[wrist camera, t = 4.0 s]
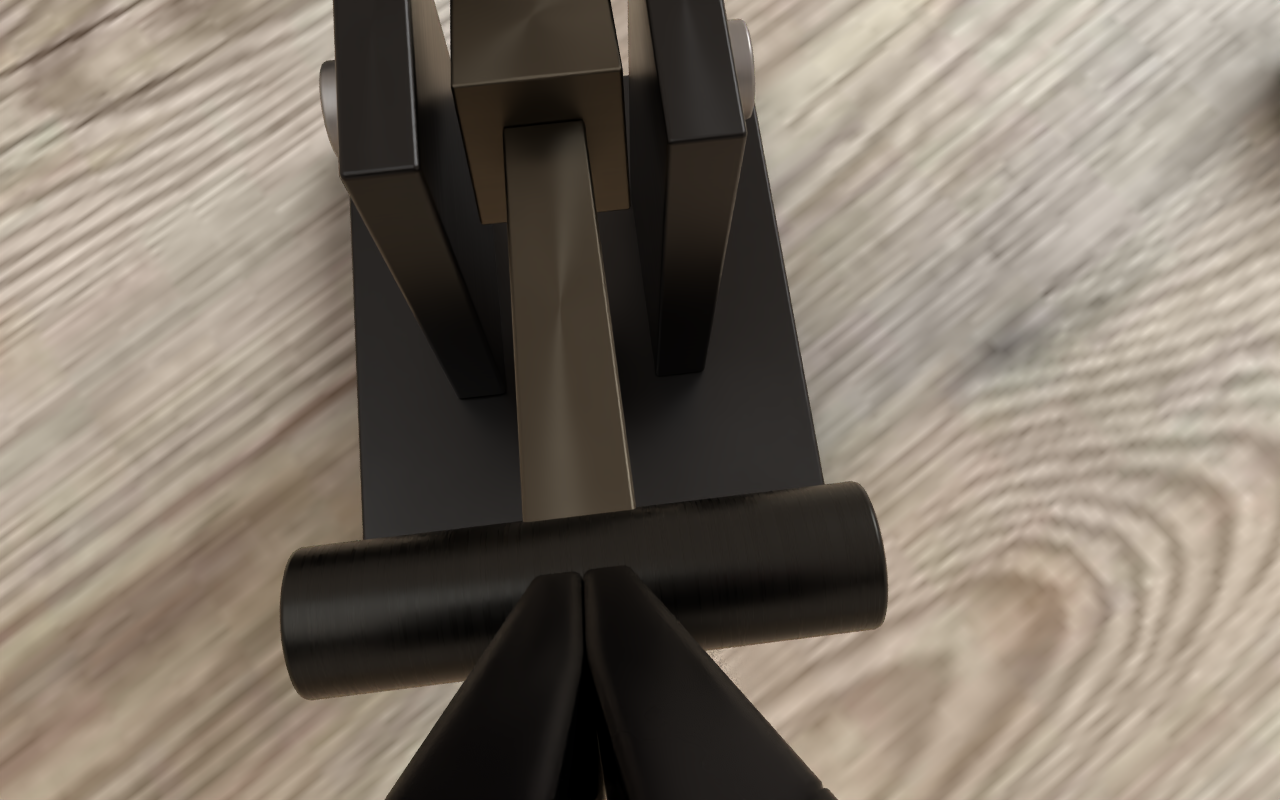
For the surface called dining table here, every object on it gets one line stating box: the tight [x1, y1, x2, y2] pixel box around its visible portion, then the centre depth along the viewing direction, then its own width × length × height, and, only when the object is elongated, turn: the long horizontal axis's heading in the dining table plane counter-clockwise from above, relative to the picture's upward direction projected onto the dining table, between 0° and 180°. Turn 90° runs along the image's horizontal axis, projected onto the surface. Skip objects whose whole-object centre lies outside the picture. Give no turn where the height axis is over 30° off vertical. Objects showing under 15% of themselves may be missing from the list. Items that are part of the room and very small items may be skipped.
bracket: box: [319, 0, 825, 540], centre depth 18 cm, size 10×9×10 cm
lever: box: [280, 0, 888, 700], centre depth 13 cm, size 10×6×2 cm, turn 7°
